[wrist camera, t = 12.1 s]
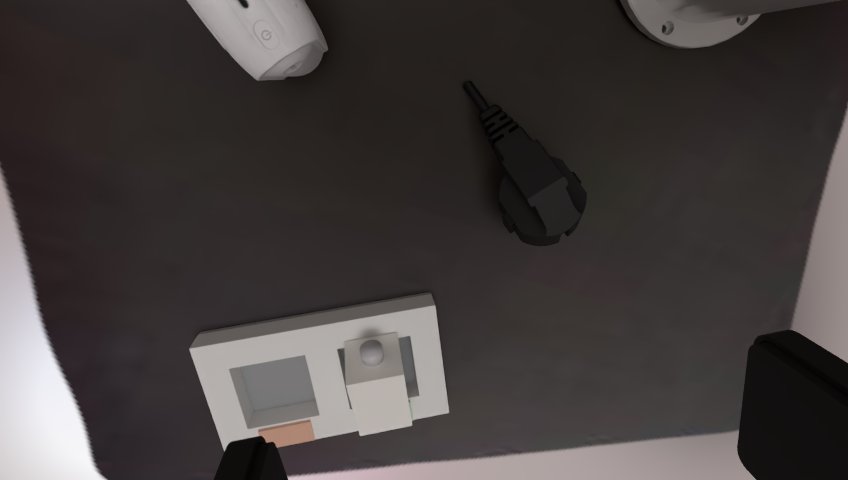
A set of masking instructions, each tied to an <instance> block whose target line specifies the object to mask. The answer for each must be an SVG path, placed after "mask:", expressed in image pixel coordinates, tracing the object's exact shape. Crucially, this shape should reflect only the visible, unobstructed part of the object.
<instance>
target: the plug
mask: <svg viewBox="0 0 848 480" xmlns="http://www.w3.org/2000/svg"><path fill="white" fill-rule="evenodd" d="M344 348H345V377H346V388H347V392H348V395H349V399H350V402H351V406H352V409H353V413H354V417H355V420H356V424H357V427H358V431H359V434H360V436H363V435H368V434H373V433H378V432H383V431H388V430H393V429H398V428H403V427H408V426H412V420H411V414H410V408H409V402H408V395H407V389H406V383H405V377H404V371H403V365H402V359H401V353H400V347H399V340H398V334H397V333H391V334H386V335H380V336H375V337H369V338H364V339H358V340H353V341H347V342H344Z"/></svg>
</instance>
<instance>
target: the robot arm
mask: <svg viewBox="0 0 848 480" xmlns="http://www.w3.org/2000/svg"><path fill="white" fill-rule="evenodd" d="M834 1H840V0H620V2H621V4H622V6H623V7H624V9H625V11H626V13H627V15H628V17H629V18H630V19H631V21H632V22H633V23H634V24H635V26H636V27H637V28H638V29H639V30H640V31H641V32H642V33H644V34H645V35H646V36H647V37H649V38H650V39H652V40H654V41H656V42H658V43H660V44H662V45H664V46H669V47H674V48H679V49H685V48H700V47H707V46H712V45H715V44H718V43H721V42H723V41H726V40H728V39H730V38H732V37H733V36H735V35H737V34H739V33H740V32H742V31H743V30H744V29H746V28H747V27H748V26H749V25H750V24H752V23H753V22H754V21H755V20H756V19H757V18H758V17H759V16H760V15H761V14H762V13H768V12H774V11H780V10H786V9H792V8H798V7H804V6H810V5H816V4H822V3H828V2H834ZM737 448H738V455H739V458H740V460H741V462H742V463H743V465H744V467H745V468H746V469H747V470H748V471H749V472H750V473H751V474H752V476H753V477H754V478H755V479H756V480H848V363H847V362H845V361H843V360H842V359H840V358H839V357H837V356H835V355H834V354H832V353H830V352H829V351H827V350H826V349H824V348H822V347H821V346H819V345H817V344H816V343H814V342H813V341H811V340H809V339H808V338H806V337H804V336H803V335H801V334H800V333H797V332H795V331H793V330H785V331H780V332H775V333H770V334H765V335H761V336H758V337H757V338H756V339H755V341H754V344H753V345H751V347H750V348H749V351H748V358H747V367H746V375H745V384H744V393H743V402H742V411H741V419H740V428H739V438H738V446H737ZM214 480H288V478H287V475H286V472H285V470H284V467H283V464H282V461H281V458H280V455H279V452H278V450H277V447H276V445H275V443H274V442H268V443H266V441H265V439H264V438H263V437H262V436H257V437H252V438H247V439H242V440H237V441H232V442H230V443H229V444H228V445H227V447H226V449H225V452H224V455H223V457H222V460H221V462H220V465H219V468H218V470H217V473H216V475H215V478H214Z"/></svg>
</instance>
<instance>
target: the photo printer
mask: <svg viewBox="0 0 848 480" xmlns="http://www.w3.org/2000/svg"><path fill="white" fill-rule="evenodd" d="M187 1H188V3H189V4H190V5H191V7H192V8H193V10H194V11H195V12H196V13H197V15H198V16H199V18H200V19H201V20H202V21H203V23H204V24H205V25H206V27H207V28H208V29H209V30H210V32H211V33H212V34H213V35H214V37H215V38H216V39H217V40H218V42H219V43H220V44H221V45H222V46H223V48H224V49H225V50H226V51H228V52H229V54H230V55H231V56H232V57H233V58H234V60H235V61H236V62H237V63H238V64H239V65H240V66H241V67H242V68H243V69H244V70H245V71H247V72H248V73H249V74H250V75H251V76H252V77H254V78H255V79H256V80H258V81H259V80H283V79H285V78H286V77H288V76H303V75H306V74H308V73H310V72H312V71H313V70H314V69H315V68H316V67H317V66H318V65H319V63H320V61H321V59H322V56H323V53H324V52H326V51H328V46H327V43H326V40H325V38H324V36H323V33H322V31H321V29H320V27H319V25H318V24H317V22H316V20H315V18H314V16H313V14H312V13H311V11H310V9H309V7H308V6H307V4H306V2H305V1H304V0H187Z"/></svg>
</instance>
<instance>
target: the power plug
mask: <svg viewBox="0 0 848 480" xmlns="http://www.w3.org/2000/svg"><path fill="white" fill-rule="evenodd" d="M464 89H465V90H466V91H467V93H468V94H469V96H470V97H471V98H472V100H473V101H474V103H475V104H476V105H477V107H478V108H479V110H480V111H481V112H482V113H481V114H480V115H479V118H480V123H481V125H482V127H483V128H484V131H485V133H486V135H487V136H488V140H489V142H491V146H492V148H493V149H494V151H495V154H496V156H497V158H498V160H499V161H500V163H501V165H502V166H503V168H504V169H505V175H504V177H503V180H502V183H501V186H500V190H499V203H500V209H501V212H502V213H503V222H504V225H505V226H506V228H507V229H508V231H509V232H510V233H512V232H513V231H515V232H516V234H517V235H518V237H519V238H520V240H521V241H522V242H524V243H527V244H530V245H535V246H547V245H552V244H555V243H558V242H559V240H560V236H561V234H563V233H565V234H566V235H567V236H569V235H570V234H571V233H572V232H573V231H574V230H575V228H576V227H577V225H578V223H579V221H580V219H581V216H582V214H583V211H584V209H585V205H586V199H587V193H586V191H585V190H584V189H583V187H582V186H581V181H580V180H579V178H578V177H577V176H576V174H575V173H574V172H571V171H570V170H569V169H568V167H567V166H566V165H565V164H564V162H563V161H562V160H560V159H557V158H554V157H550V156H549V155H548V154H547V152H546V151H545V150H544V148H543V147H542V146H541V144H540V143H539V142H538V140H535V141H533V140H531V138H530V137H529V136H528V135H527V133H526V132H525V131H524V129H523V128H522V127H519V125H518V124H517V123H516V122H513V119H512V118H511V117H508V115H507V113H505V112H503V111H502V109H501V108H500V107H499V106H498V105H493V106H492V107H490V106H489V105H488V104H487V102H486V101H485V100H484V98H483V97H482V95H481V94H480V93H479V91H478V90H477V89H476V87H475V86H474V84H473V83H472V82H471V81H468V82H466V83H465V84H464Z"/></svg>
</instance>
